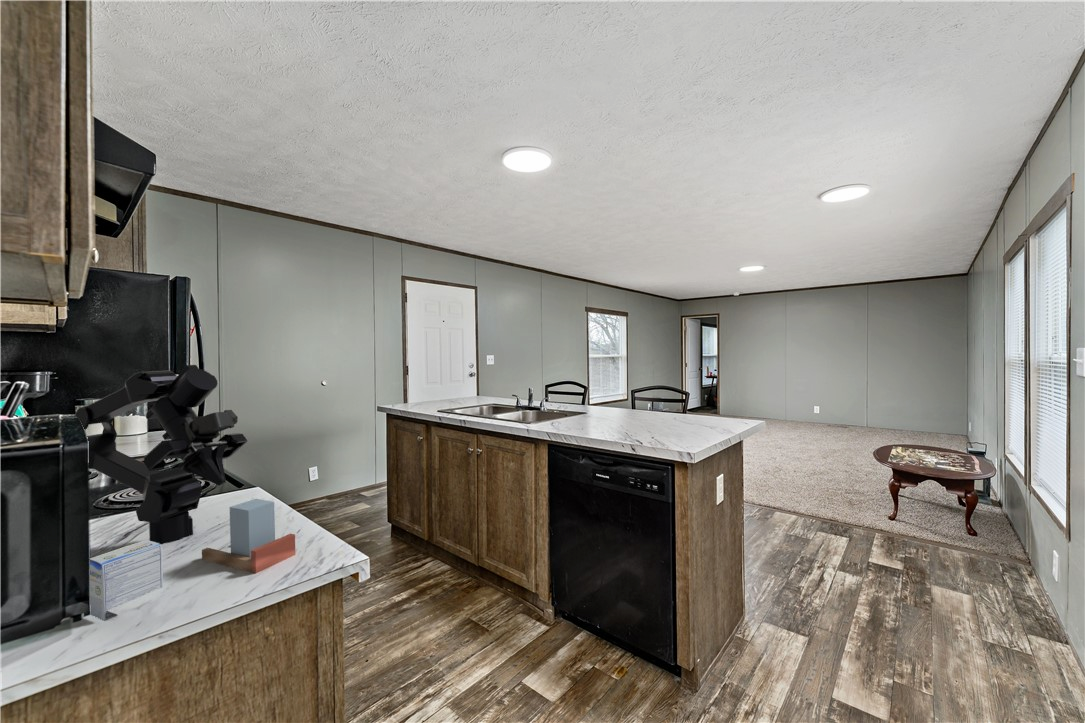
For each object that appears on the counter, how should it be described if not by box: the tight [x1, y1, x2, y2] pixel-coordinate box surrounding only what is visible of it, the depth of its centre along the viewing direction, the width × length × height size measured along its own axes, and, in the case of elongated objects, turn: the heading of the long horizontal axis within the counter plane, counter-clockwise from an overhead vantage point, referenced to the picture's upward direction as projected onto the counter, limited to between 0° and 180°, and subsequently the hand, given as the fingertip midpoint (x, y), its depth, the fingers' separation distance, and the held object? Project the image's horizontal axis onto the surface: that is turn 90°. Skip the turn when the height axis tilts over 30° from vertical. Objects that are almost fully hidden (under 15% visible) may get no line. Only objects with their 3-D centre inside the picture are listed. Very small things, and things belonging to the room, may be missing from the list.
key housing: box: [201, 533, 296, 574], centre depth 87 cm, size 15×9×5 cm, turn 68°
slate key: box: [229, 498, 276, 558], centre depth 86 cm, size 5×5×10 cm
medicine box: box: [89, 539, 164, 621], centre depth 73 cm, size 8×4×9 cm, turn 157°
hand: (222, 483), depth 92 cm, fingers closed
